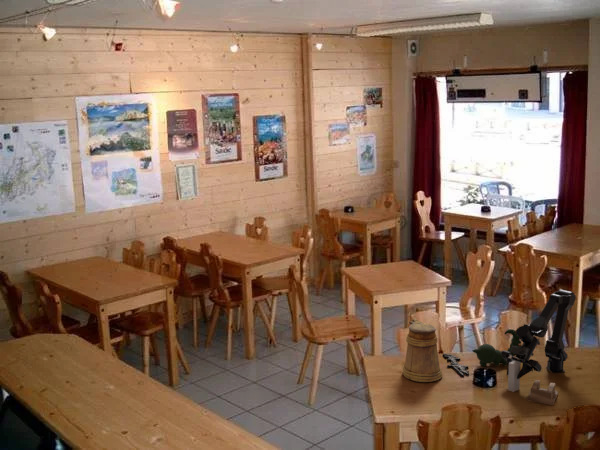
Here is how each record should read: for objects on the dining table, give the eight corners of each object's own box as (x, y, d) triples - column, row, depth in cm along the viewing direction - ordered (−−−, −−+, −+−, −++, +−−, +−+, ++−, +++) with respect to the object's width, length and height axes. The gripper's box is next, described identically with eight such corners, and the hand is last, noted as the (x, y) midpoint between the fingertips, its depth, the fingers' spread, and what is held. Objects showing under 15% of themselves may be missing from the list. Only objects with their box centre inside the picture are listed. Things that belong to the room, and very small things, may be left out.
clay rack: (532, 389, 325) (533, 378, 324) (557, 394, 319) (558, 383, 318) (527, 400, 314) (527, 388, 313) (553, 405, 309) (553, 393, 308)
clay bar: (513, 387, 328) (514, 360, 325) (519, 389, 326) (520, 362, 323) (507, 389, 325) (508, 362, 323) (513, 392, 323) (514, 364, 320)
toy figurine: (511, 362, 361) (465, 363, 355) (516, 326, 358) (470, 326, 352) (521, 369, 352) (474, 370, 346) (526, 332, 349) (479, 332, 343)
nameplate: (435, 354, 365) (454, 352, 367) (435, 357, 366) (453, 355, 367) (457, 375, 339) (477, 373, 341) (457, 378, 339) (477, 376, 341)
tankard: (412, 385, 331) (413, 334, 326) (393, 366, 354) (393, 318, 349) (448, 380, 336) (449, 330, 331) (426, 362, 358) (427, 314, 353)
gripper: (503, 333, 330) (487, 362, 326) (539, 344, 316) (523, 374, 311) (513, 345, 337) (497, 373, 332) (548, 356, 322) (532, 386, 318)
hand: (512, 376), depth 323 cm, fingers open, 5 cm apart
